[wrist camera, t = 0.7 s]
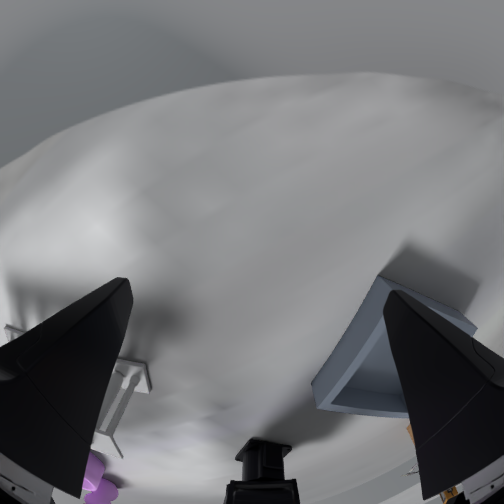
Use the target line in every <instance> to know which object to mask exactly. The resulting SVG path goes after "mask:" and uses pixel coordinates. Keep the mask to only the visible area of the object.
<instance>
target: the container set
mask: <svg viewBox="0 0 504 504" xmlns="http://www.w3.org/2000/svg"><path fill="white" fill-rule="evenodd" d="M104 470H105V467H104V465H103V463H102V462H101V461H100V460H99V459H98V458H97V457H96V456H95V455H94V454H92V453H91V452H90V453H89V457H88V462H87V466H86V471H85V476H84V481H83V486H82V488H83V489H86V490H89V491H91V492H92V493H88V494H86V495H85V497H84V500H85V502H86V503H84V504H111V503H110V501H113V500H115V499H116V498H117V497H118V490H117V488H116V486H115V484H113V483H112V482H110V481H108V480H106V479H104V478H102V475H103V473H104Z"/></svg>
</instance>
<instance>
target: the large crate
mask: <svg viewBox="0 0 504 504" xmlns="http://www.w3.org/2000/svg"><path fill="white" fill-rule="evenodd" d="M391 290H403V291H404V292H406V293H407V294H409V295H410V296H412V297H414V298H415V299H417V300H418V301H420V302H421V303H423V304H424V305H426V306H427V307H429V308H430V309H432V310H433V311H435V312H436V313H438V314H439V315H441V316H442V317H444V318H445V319H447V320H448V321H450V322H451V323H453V324H454V325H455V326H457V327H458V328H460V329H461V330H463V331H464V332H466V333H467V334H468V335H470V336H471V337H473V335H474V334H475V332H476V330H477V329H478V328H477V327H476V326H475V325H474V324H473V323H472V322H471V321H469V320H468V319H467V318H466V317H465V316H464V315H463V314H462V313H460V312H459V311H457V310H455V309H452V308H450V307H448V306H446V305H444V304H442V303H439V302H437V301H435V300H433V299H431V298H428V297H426V296H424V295H422V294H420V293H417V292H415V291H413V290H411V289H408V288H406V287H404V286H402V285H399V284H397V283H395V282H393V281H390V280H388V279H386V278H384V277H381V276H379V275H377V277H376V279H375V281H374V283H373V285H372V287H371V289H370V290H369V292H368V294H367V296H366V298H365V299H364V301H363V303H362V305H361V306H360V308H359V310H358V312H357V313H356V315H355V317H354V318H353V320H352V322H351V323H350V325H349V327H348V328H347V330H346V332H345V333H344V335H343V336H342V338H341V340H340V341H339V343H338V344H337V346H336V347H335V349H334V350H333V352H332V353H331V355H330V356H329V358H328V359H327V361H326V362H325V364H324V365H323V367H322V368H321V370H320V371H319V373H318V374H317V375H316V377H315V378H314V380H313V381H312V383H311V385H312V389H313V394H314V398H315V403H316V407H317V409H322V410H328V411H335V412H342V413H349V414H358V415H367V416H377V417H391V418H409V415H408V411H407V407H406V403H405V399H404V395H403V391H402V387H401V384H400V380H399V376H398V373H397V369H396V366H395V362H394V359H393V356H392V352H391V349H390V344H389V340H388V335H387V330H386V326H385V321H384V317H383V307H384V305H385V302H386V300H387V297H388V294H389V292H390V291H391Z"/></svg>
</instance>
